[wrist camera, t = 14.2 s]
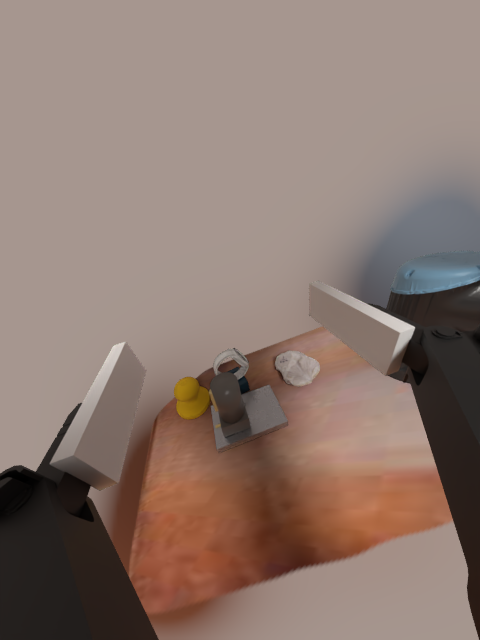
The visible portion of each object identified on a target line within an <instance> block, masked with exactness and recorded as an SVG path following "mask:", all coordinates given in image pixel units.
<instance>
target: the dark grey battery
mask: <svg viewBox="0 0 480 640" xmlns="http://www.w3.org/2000/svg"><path fill="white" fill-rule="evenodd" d="M209 395H210V398H211V401H212V403H213V406H214V409H215V411H216V412H217V411H218V413H219V419H220V424H221V429H222V432H223V435H224V437H227V436H229V435H232V434H235V433H238V432H240V431H243V430H246V429H249V428H251V426H250V422H249V418H248V414H247V411H246V408H245V405H244V402H243V399H242V396H241V392H240V387H239V383H238V379H237V377H236V376H235V375H234V374H233V373H230V372H224V373H220V374H218V375H217V376H215V377H214V378H213V379H212V381H211V383H210V390H209Z"/></svg>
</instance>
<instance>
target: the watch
mask: <svg viewBox="0 0 480 640" xmlns="http://www.w3.org/2000/svg"><path fill="white" fill-rule="evenodd" d="M229 357H232V359H234V360H235V361H236V362H237V363H238V364H240V365H241V366H242V367H241V368H240V369H239V367H236V368H234V369H232V370H230V371H228V372H230V373H233V374H234V375H235V376H236V377H237V379H238V383H239V387H240V392H241V395H242V394H243V393H245V392H247V391H249V390H250V389H249V385H248V381H247V380H246V378H245V377H244V375H245V374H246V372H247V370H248V367H249V366H248V364H249V362H248V360H247V359H246V357H245V356H244V355H242V353H240V352H239V351H238V350H237V349H235V348H233V349H228V350H226V351H224V352H222V353H220V354H219V355H218V356H217V357H216V359H215V361H214V364H213V368H214V372H215V374H216V376H217V375H218V374H220V373H221V372H220V371H218V367H219V365H220V364H221V363H222V362H223V361H224V360H225V359H227V358H229ZM224 358H225V359H224Z"/></svg>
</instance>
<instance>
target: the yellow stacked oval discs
mask: <svg viewBox="0 0 480 640" xmlns="http://www.w3.org/2000/svg"><path fill="white" fill-rule="evenodd" d="M174 395H175V397H176V399H178V401H177V405H176V409H177V412H178V414H179V415H180V416H181V417H182V418H184V419H188V420H190V419H195V418H197V417H199V416H201V415H202V414H203V413H204V412H205V411H206V410H207V408H208V407H209V404H210V400H211V398H210V395H209V392H208V390H207V389H206V388H204V387H201V386H199V383H198V381H197V380H196V379H195V378H192V377H185V378H183V379H181V380H180V381H179V382H177V384H176V386H175V388H174Z"/></svg>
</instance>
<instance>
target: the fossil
mask: <svg viewBox="0 0 480 640" xmlns="http://www.w3.org/2000/svg"><path fill="white" fill-rule="evenodd" d="M275 366H276V370H278V371H280V373H282V376H283V379H284V380H285V382H286V383H288V384H292V385H293V386H297V387H301V386H304V385H308V384H311V383H312V380H313V379H314V378H315V377H316V376H317V374H318V373H319V370H320V366H319V363H318V362H317V361H316V360H314V359H313V358H311V357H308V356H306V355H305V354H303V353H301V352H298V351H287V352H285V353H282V354H280V355H278V356H277V357H276V362H275Z"/></svg>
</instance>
